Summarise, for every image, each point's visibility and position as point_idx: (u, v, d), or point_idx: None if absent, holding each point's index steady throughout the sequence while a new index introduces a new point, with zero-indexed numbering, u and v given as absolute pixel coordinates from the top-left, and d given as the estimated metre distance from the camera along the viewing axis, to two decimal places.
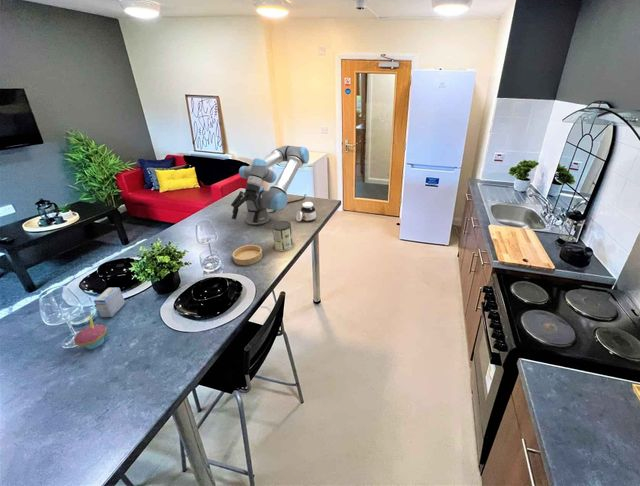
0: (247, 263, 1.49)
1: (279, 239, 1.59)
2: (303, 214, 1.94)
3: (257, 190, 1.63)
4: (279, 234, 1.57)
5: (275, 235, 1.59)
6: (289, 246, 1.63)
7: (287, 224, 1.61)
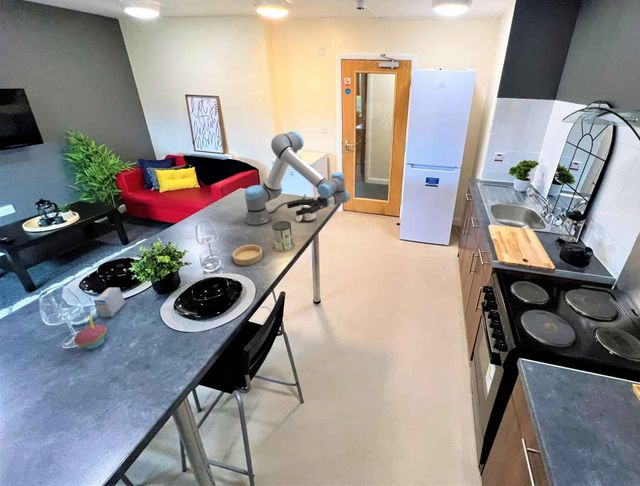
0: (247, 263, 1.49)
1: (279, 239, 1.59)
2: (303, 214, 1.94)
3: None
4: (279, 234, 1.57)
5: (275, 235, 1.59)
6: (289, 246, 1.63)
7: (287, 224, 1.61)
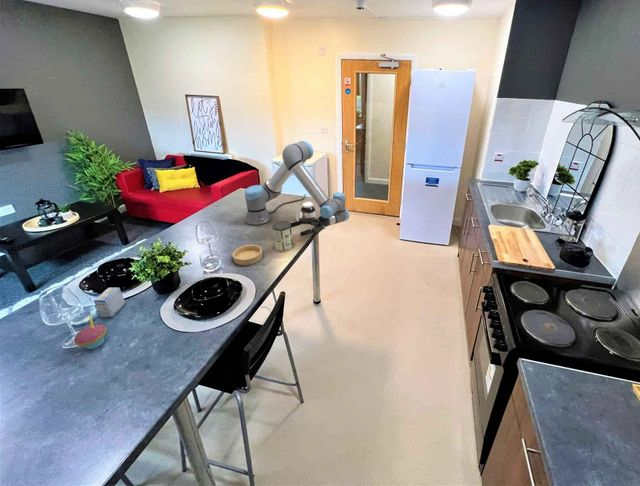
0: (247, 263, 1.49)
1: (279, 239, 1.59)
2: (303, 214, 1.94)
3: None
4: (279, 234, 1.57)
5: (275, 235, 1.59)
6: (289, 246, 1.63)
7: (287, 224, 1.61)
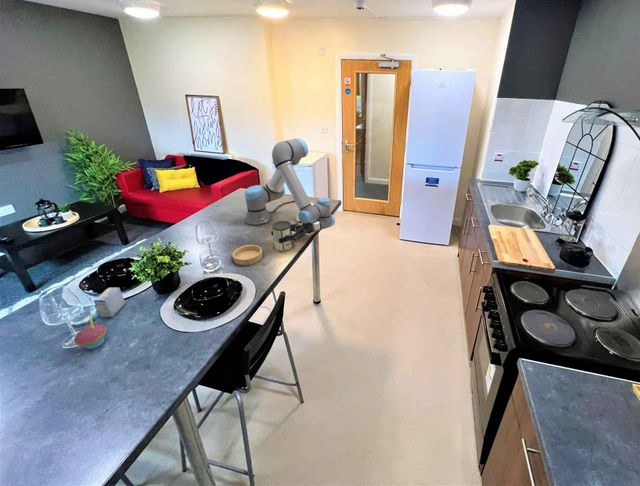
0: (247, 263, 1.49)
1: None
2: None
3: None
4: (279, 234, 1.57)
5: (275, 235, 1.59)
6: (289, 246, 1.63)
7: (287, 224, 1.61)
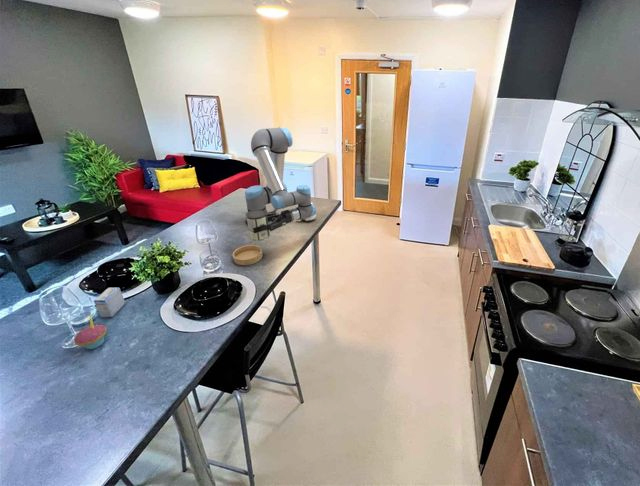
0: (247, 263, 1.49)
1: None
2: None
3: None
4: (253, 223, 1.46)
5: (249, 224, 1.47)
6: (265, 236, 1.52)
7: (263, 213, 1.50)
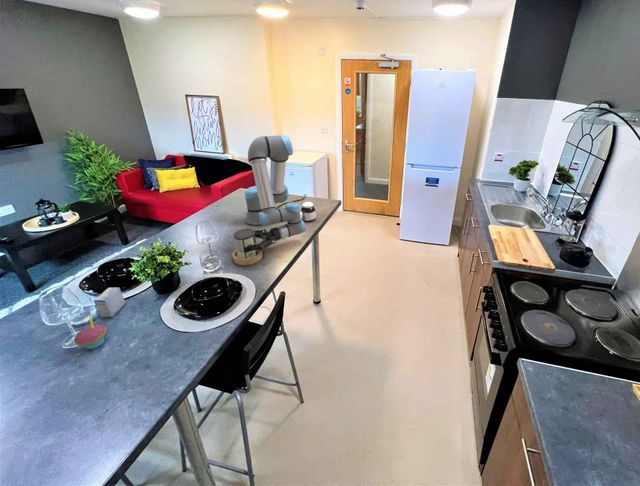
0: (247, 263, 1.49)
1: (241, 248, 1.47)
2: (303, 214, 1.94)
3: None
4: (240, 243, 1.46)
5: (237, 244, 1.47)
6: (253, 256, 1.52)
7: (250, 232, 1.50)
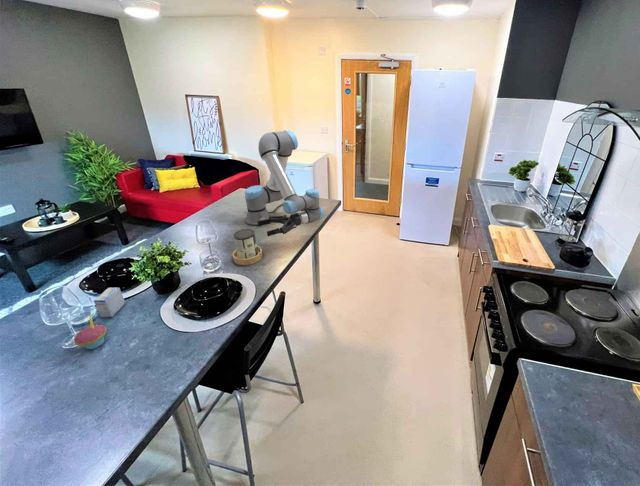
0: (247, 263, 1.49)
1: (241, 248, 1.47)
2: None
3: None
4: (240, 243, 1.46)
5: (237, 244, 1.47)
6: (253, 256, 1.52)
7: (250, 232, 1.50)
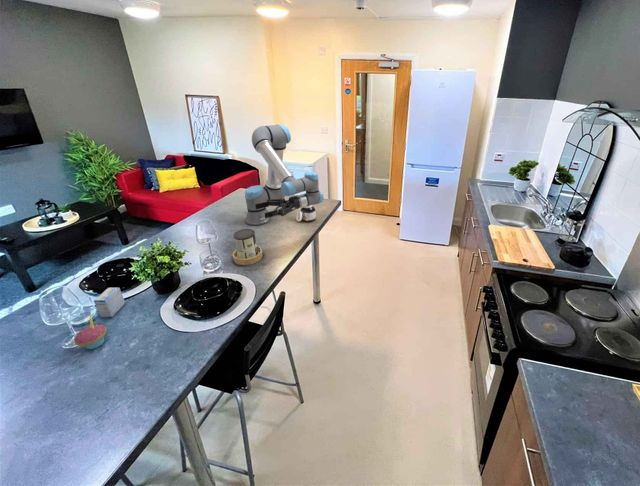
0: (247, 263, 1.49)
1: (241, 248, 1.47)
2: (303, 214, 1.94)
3: None
4: (240, 243, 1.46)
5: (237, 244, 1.47)
6: (253, 256, 1.52)
7: (250, 232, 1.50)
